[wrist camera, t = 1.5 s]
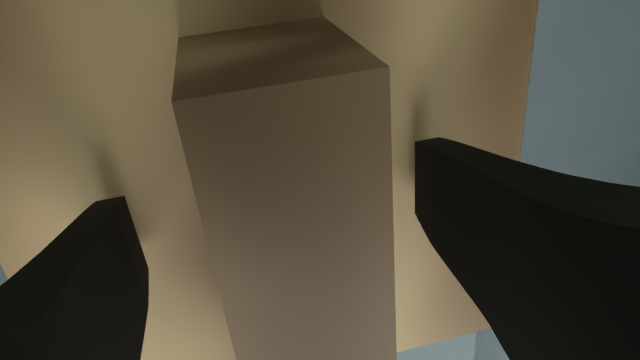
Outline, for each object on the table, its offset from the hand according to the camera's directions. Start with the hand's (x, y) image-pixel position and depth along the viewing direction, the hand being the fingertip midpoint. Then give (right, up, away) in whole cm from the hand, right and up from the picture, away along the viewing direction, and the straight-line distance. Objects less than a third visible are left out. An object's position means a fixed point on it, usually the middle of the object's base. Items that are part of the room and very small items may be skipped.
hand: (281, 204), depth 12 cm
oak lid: (0, +1, +1) cm, 1 cm away
